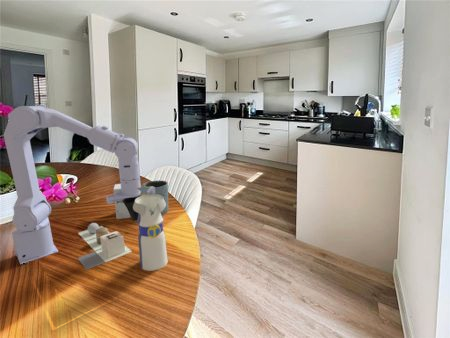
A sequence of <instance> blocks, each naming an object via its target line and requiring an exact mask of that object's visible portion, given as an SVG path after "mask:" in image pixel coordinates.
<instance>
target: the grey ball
mask: <svg viewBox="0 0 450 338" xmlns="http://www.w3.org/2000/svg"><path fill="white" fill-rule="evenodd" d="M99 226H100V225H99V224H98V223H97V222H91V223H90V224H88V226H87V230H88V231H89V232H90V233H96V230H97V229H99Z"/></svg>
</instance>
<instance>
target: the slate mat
mask: <svg viewBox="0 0 450 338" xmlns="http://www.w3.org/2000/svg"><path fill="white" fill-rule="evenodd" d="M77 260H78V261H79V262H80V264H82V266H83V267H84V269H86V271H88V270H90V269H92V268H95V267H98V266H100V265H103V264H105V263H106V262H105V261H104V260H103V259H102V258H101V257H100V256H99V255H98V254H97V253H96V252H95V251H94V252H90V253H88V254H84V255H82V256H79V257H77Z"/></svg>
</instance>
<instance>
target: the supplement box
mask: <svg viewBox="0 0 450 338" xmlns="http://www.w3.org/2000/svg"><path fill="white" fill-rule="evenodd" d="M119 192H121V183H115V184H114V187H113V194H116V193H119ZM114 208H115V209H114V210H115V216H116V217H115V219H116V220H121V219H129V218H130V219H131V217H130V214H129V211H128V209H127V208H126V206H125V204H124V203H123V202H122V200H121V201H117V202H114Z"/></svg>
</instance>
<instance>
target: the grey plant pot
mask: <svg viewBox="0 0 450 338" xmlns="http://www.w3.org/2000/svg"><path fill="white" fill-rule="evenodd" d="M143 183H144V185H145V187H151V186H153V187H155V193H154V194H156V195H161V196H162V197H163V198H164V200H165V203H166V207H165V209H164V210H163V211H162V212H161V215H162V216H163V215H165V214H167V213H168V212H169V182H168V181H166V180H152V181H151V180H150V181H146V182H143ZM151 194H152V193H151ZM148 195H150V194H148Z"/></svg>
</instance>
